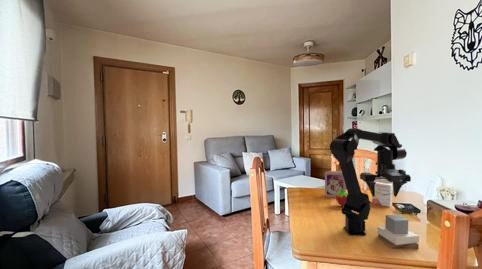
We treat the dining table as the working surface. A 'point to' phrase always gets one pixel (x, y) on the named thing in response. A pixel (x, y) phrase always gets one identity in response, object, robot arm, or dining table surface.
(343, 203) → the strawberry
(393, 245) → the tower bottom
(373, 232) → the dining table surface
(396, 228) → the slate cube
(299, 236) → the dining table surface
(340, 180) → the pink snowman box
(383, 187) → the ink cartridge box
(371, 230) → the dining table surface
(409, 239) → the tower top
